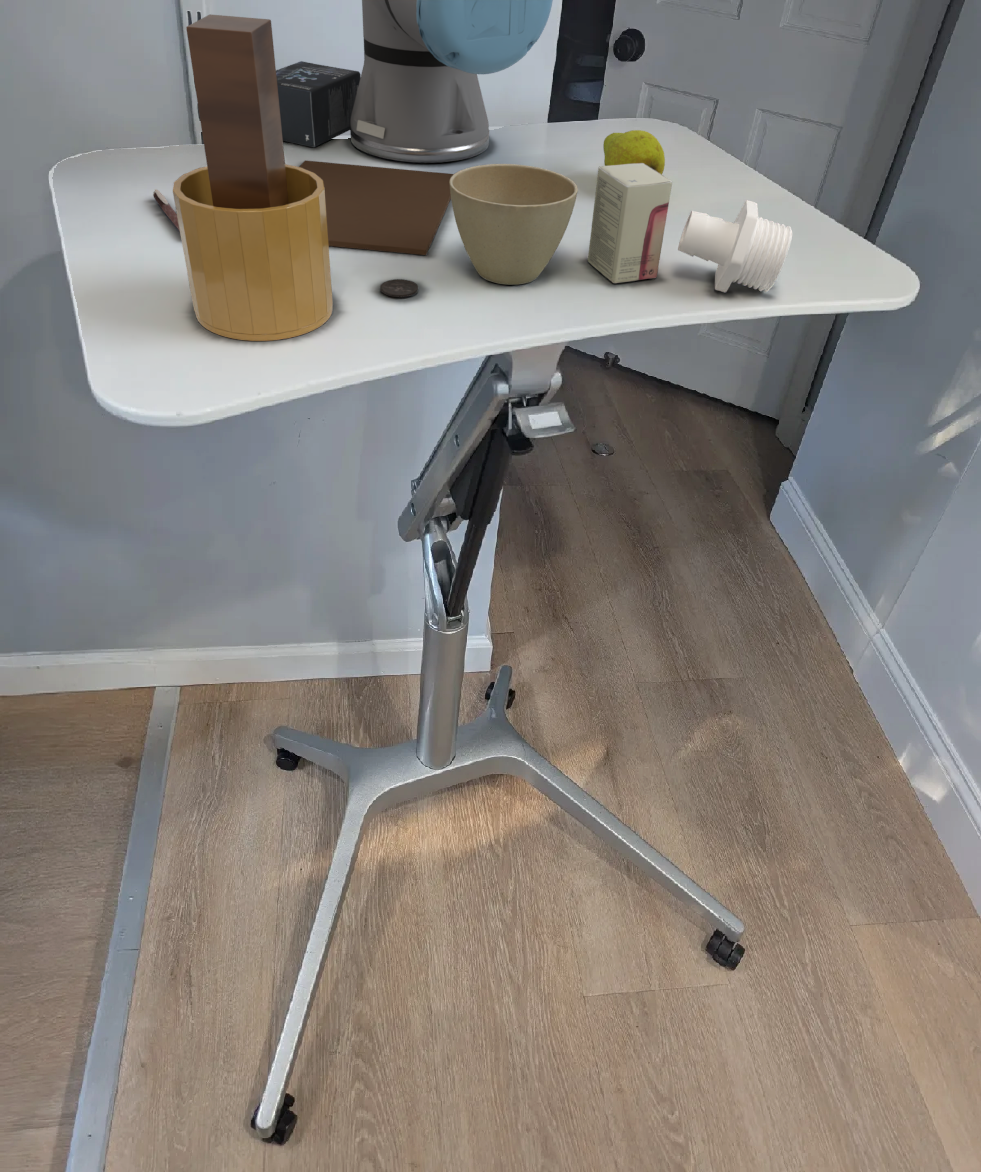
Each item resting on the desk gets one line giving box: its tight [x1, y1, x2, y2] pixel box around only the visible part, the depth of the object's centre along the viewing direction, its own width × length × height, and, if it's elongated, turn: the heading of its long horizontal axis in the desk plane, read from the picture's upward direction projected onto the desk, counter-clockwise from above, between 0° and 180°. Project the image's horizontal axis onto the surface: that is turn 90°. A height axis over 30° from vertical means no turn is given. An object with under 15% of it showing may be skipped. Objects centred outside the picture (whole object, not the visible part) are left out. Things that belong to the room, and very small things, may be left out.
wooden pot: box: [172, 163, 334, 342], centre depth 64 cm, size 10×10×9 cm
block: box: [185, 14, 289, 209], centre depth 61 cm, size 4×4×18 cm
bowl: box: [450, 163, 579, 286], centre depth 72 cm, size 10×10×7 cm
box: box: [276, 60, 362, 148], centre depth 99 cm, size 8×6×11 cm
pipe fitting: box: [677, 199, 793, 294], centre depth 73 cm, size 6×7×8 cm
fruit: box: [603, 129, 666, 175], centre depth 91 cm, size 6×6×12 cm
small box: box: [587, 163, 673, 284], centre depth 73 cm, size 5×4×8 cm
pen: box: [152, 189, 180, 232], centre depth 79 cm, size 11×1×1 cm, turn 29°
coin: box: [379, 278, 419, 298], centre depth 71 cm, size 3×1×3 cm
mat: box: [298, 160, 455, 256], centre depth 84 cm, size 20×16×1 cm
